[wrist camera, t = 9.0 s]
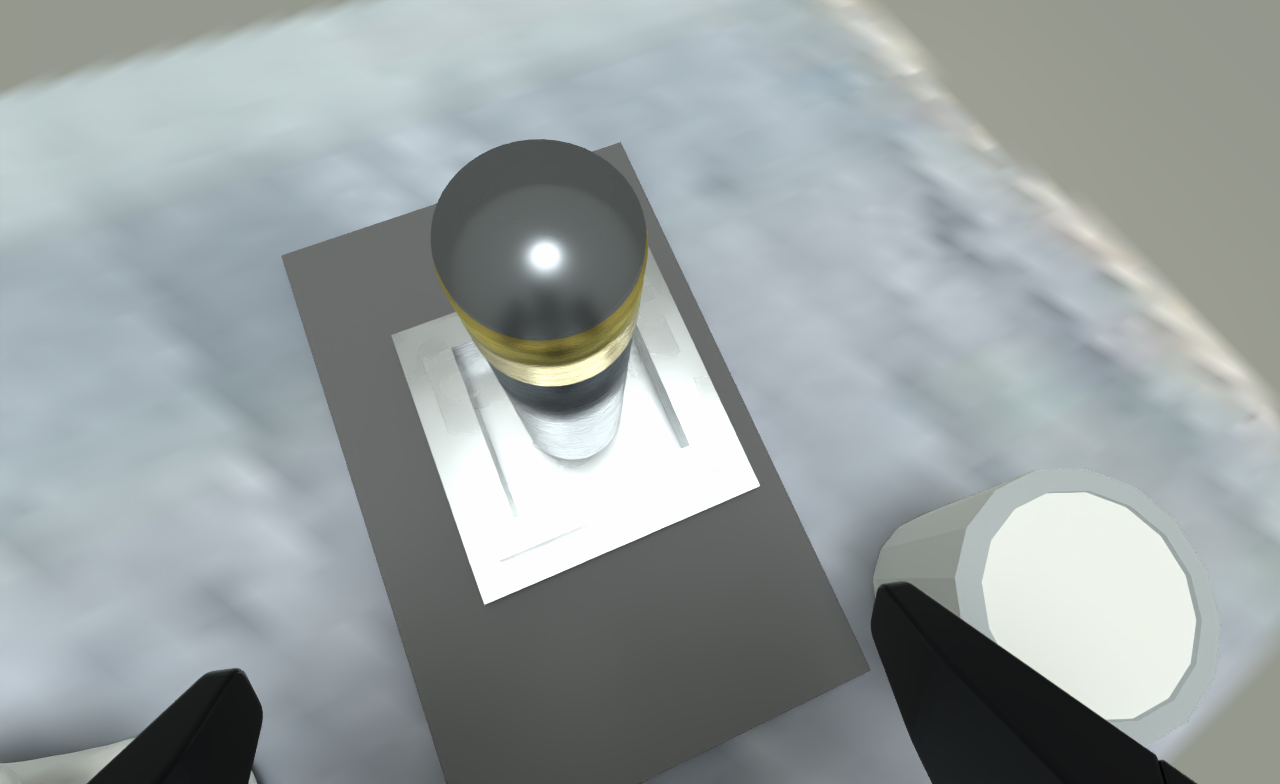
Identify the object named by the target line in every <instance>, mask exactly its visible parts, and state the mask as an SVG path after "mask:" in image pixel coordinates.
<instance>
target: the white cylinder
mask: <svg viewBox="0 0 1280 784" xmlns="http://www.w3.org/2000/svg"><path fill="white" fill-rule="evenodd" d="M899 581H906V582H909V583H911V584H912V585H914V586H915V587H917V588H918V589H920V590H921V591H923V592H924V593H925V594H927V595H928V596H930V597H931V598H933V599H934V600H935V601H937V602H938V603H940V604H941V605H943V606H944V607H945V608H947V609H948V610H950V611H951V612H953V613H954V614H955V615H957V616H958V617H960V618H961V619H963V620H964V621H965V622H967V623H968V624H970V625H971V626H973V627H974V628H975V629H977V630H978V631H980V632H981V633H983V634H984V635H985V636H987V637H988V638H990V639H991V640H993V641H994V642H995V643H997V644H998V645H1000V646H1001V647H1003V648H1004V649H1005V650H1007V651H1008V652H1010V653H1011V654H1013V655H1014V656H1015V657H1017V658H1018V659H1020V660H1021V661H1023V662H1024V663H1025V664H1027V665H1028V666H1030V667H1031V668H1033V669H1034V670H1035V671H1037V672H1038V673H1040V674H1041V675H1043V676H1044V677H1045V678H1047V679H1048V680H1050V681H1051V682H1053V683H1054V684H1055V685H1057V686H1058V687H1060V688H1061V689H1063V690H1064V691H1065V692H1067V693H1068V694H1070V695H1071V696H1073V697H1074V698H1075V699H1077V700H1078V701H1080V702H1081V703H1082V704H1084V705H1085V706H1087V707H1088V708H1090V709H1091V710H1092V711H1094V712H1095V713H1097V714H1098V715H1100V716H1101V717H1102V718H1104V719H1105V720H1107V721H1108V722H1110V723H1111V724H1112V725H1114V726H1115V727H1117V728H1118V729H1120V730H1121V731H1122V732H1124V733H1125V734H1127V735H1128V736H1130V737H1131V738H1132V739H1134V740H1135V741H1137V742H1138V743H1140V744H1141V745H1142V746H1144V747H1146V746H1147V745H1149V744H1151V743H1152V742H1154V741H1156V740H1158V739H1159V738H1161V737H1163V736H1164V735H1166V734H1168V733H1169V732H1171V731H1173V730H1175V729H1176V728H1178V727H1180V726H1181V725H1183V724H1185V723H1187V722H1188V721H1189V719H1190V718H1191V716H1192V715H1193V713H1194V711H1195V710H1196V708H1197V706H1198V705H1199V703H1200V702H1201V700H1202V698H1203V697H1204V695H1205V693H1206V692H1207V690H1208V689H1209V687H1210V685H1211V684H1212V682H1213V680H1214V679H1215V674H1216V665H1217V657H1218V649H1219V640H1220V632H1221V621H1220V617H1219V613H1218V609H1217V605H1216V601H1215V597H1214V593H1213V589H1212V585H1211V581H1210V577H1209V573H1208V569H1207V568H1206V566H1205V565H1204V563H1203V561H1202V560H1201V558H1200V557H1199V555H1198V554H1197V552H1196V551H1195V549H1194V547H1193V546H1192V544H1191V543H1190V541H1189V540H1188V538H1187V536H1186V535H1185V533H1184V532H1183V530H1182V529H1181V527H1180V525H1179V524H1178V522H1177V521H1176V520H1174V519H1173V518H1172V517H1171V516H1170V515H1168V514H1167V513H1166V512H1165V511H1164V510H1162V509H1161V508H1160V507H1159V506H1157V505H1156V504H1155V503H1154V502H1153V501H1151V500H1150V499H1149V498H1148V497H1147V496H1145V495H1144V494H1143V493H1142V492H1140V491H1139V490H1138V489H1137V488H1136V487H1134V486H1132V485H1129V484H1126V483H1124V482H1121V481H1118V480H1116V479H1113V478H1110V477H1108V476H1105V475H1102V474H1099V473H1097V472H1094V471H1091V470H1089V469H1086V468H1080V469H1038V470H1035V471H1032V472H1030V473H1027V474H1025V475H1022V476H1020V477H1017V478H1014V479H1012V480H1009V481H1007V482H1004V483H1002V484H999V485H997V486H994V487H992V488H989V489H986V490H984V491H981V492H979V493H976V494H974V495H971V496H969V497H966V498H964V499H961V500H959V501H956V502H953V503H951V504H948V505H946V506H943V507H941V508H938V509H936V510H933V511H931V512H928V513H925V514H923V515H921V516H919V517H917V518H915V519H913V520H911V521H909V522H907V523H905V524H903V525H901V526H899V527H898V528H897V529H896V530H895V532H894V533H893V534H892V535H891V537H890V538H889V539H888V540H887V542H886V543H885V544H884V545H883V547H882V548H881V549H880V553H879V557H878V561H877V564H876V568H875V572H874V576H873V586H874V594H875V597H876V592H877V589H878V587H879V586H880V585H881V584H884V583H891V582H899Z"/></svg>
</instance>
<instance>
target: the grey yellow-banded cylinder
mask: <svg viewBox="0 0 1280 784" xmlns="http://www.w3.org/2000/svg"><path fill="white" fill-rule="evenodd" d="M430 243H431V250H432V257H433V263H434V267H435V271H436V274H437V278H438V280H439V282H440V284H441V287H442V289H443V291H444V292H445V294H446V296H447V297H448V299H449V301H450V303H451V304H452V306H453V308H454V309H455V311H456V313H457V315H458V316H459V318H460V320H461V322H462V323H463V325H464V327H465V328H466V330H467V332H468V334H469V335H470V337H471V339H472V340H473V342H474V344H475V345H476V347H477V348H478V350H479V352H480V353H481V354H482V355H483V356H484V357H485V359H486V360H487V362H488V363H489V365H490V367H491V369H492V370H493V372H494V374H495V376H496V377H497V379H498V381H499V383H500V384H501V386H502V388H503V390H504V391H505V393H506V395H507V397H508V398H509V400H510V402H511V404H512V405H513V407H514V409H515V411H516V412H517V414H518V416H519V418H520V420H521V421H522V423H523V425H524V427H525V428H526V430H527V432H528V434H529V435H530V437H531V438H532V440H533V441H534V443H535V444H536V445H537V446H538V447H539V448H540V449H542V450H543V451H544V452H546V453H548V454H550V455H552V456H554V457H557V458H561V459H567V460H578V459H583V458H587V457H590V456H592V455H594V454H596V453H598V452H599V451H601V450H602V449H603V448H604V447H606V446H607V445H608V444H609V442H610V441H611V440H612V439H613V437H614V435H615V434H616V432H617V429H618V426H619V423H620V418H621V411H622V405H623V398H624V391H625V385H626V378H627V371H628V364H629V358H630V351H631V344H632V338H633V333H634V330H635V327H636V324H637V319H638V314H639V308H640V302H641V295H642V289H643V283H644V276H645V270H646V264H647V257H648V233H647V228H646V223H645V218H644V214H643V210H642V207H641V205H640V202H639V199H638V197H637V196H636V194H635V192H634V190H633V188H632V187H631V185H630V184H629V183H628V181H627V180H626V179H625V177H624V176H623V175H622V174H621V173H620V172H619V171H618V170H617V169H616V168H615V167H614V166H612V165H611V164H610V163H609V162H607V161H606V160H605V159H603V158H601V157H600V156H598V155H597V154H595V153H593V152H591V151H589V150H587V149H585V148H582V147H579V146H576V145H573V144H570V143H566V142H561V141H555V140H545V139H541V140H524V141H517V142H513V143H509V144H505V145H502V146H499V147H496V148H494V149H491V150H489V151H487V152H485V153H483V154H481V155H479V156H478V157H476V158H475V159H474V160H472V161H471V162H469V163H468V164H467V165H466V166H464V167H463V168H462V169H461V170H460V171H459V172H458V173H457V174H456V175H455V176H454V177H453V179H452V180H451V181H450V182H449V183H448V185H447V186H446V188H445V189H444V191H443V192H442V195H441V197H440V199H439V201H438V203H437V205H436V208H435V211H434V215H433V219H432V225H431V239H430Z"/></svg>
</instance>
